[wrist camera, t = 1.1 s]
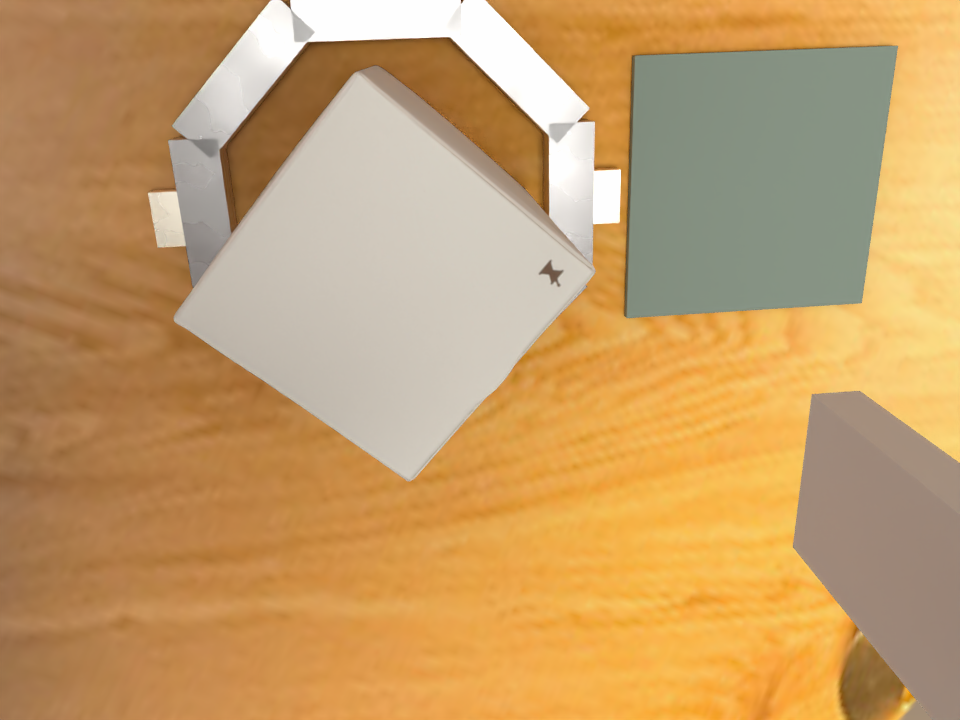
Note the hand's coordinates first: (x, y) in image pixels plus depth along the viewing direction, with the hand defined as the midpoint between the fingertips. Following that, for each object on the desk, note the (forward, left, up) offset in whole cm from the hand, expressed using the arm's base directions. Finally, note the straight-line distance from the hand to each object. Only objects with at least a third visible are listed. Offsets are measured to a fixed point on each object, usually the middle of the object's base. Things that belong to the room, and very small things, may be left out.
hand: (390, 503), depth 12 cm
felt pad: (+17, 0, -26) cm, 31 cm away
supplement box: (0, 0, -26) cm, 27 cm away
